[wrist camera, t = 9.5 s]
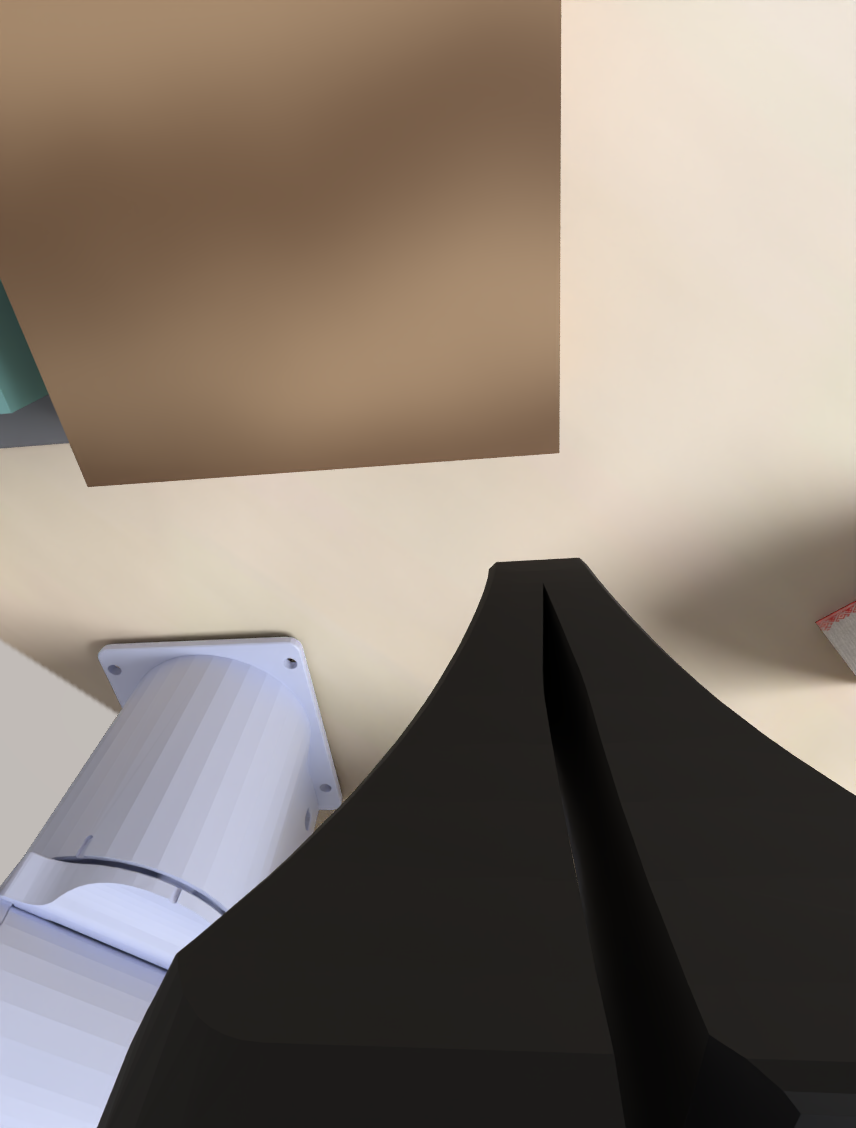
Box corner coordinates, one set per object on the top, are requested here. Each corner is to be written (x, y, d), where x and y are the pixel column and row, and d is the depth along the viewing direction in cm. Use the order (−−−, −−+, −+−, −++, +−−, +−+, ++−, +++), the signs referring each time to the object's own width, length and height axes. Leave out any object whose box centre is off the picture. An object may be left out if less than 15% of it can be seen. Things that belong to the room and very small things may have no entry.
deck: (544, 401, 18) (559, 453, 15) (155, 433, 20) (87, 487, 16) (538, -212, 12) (562, -362, 9) (-30, -105, 13) (-201, -199, 10)
